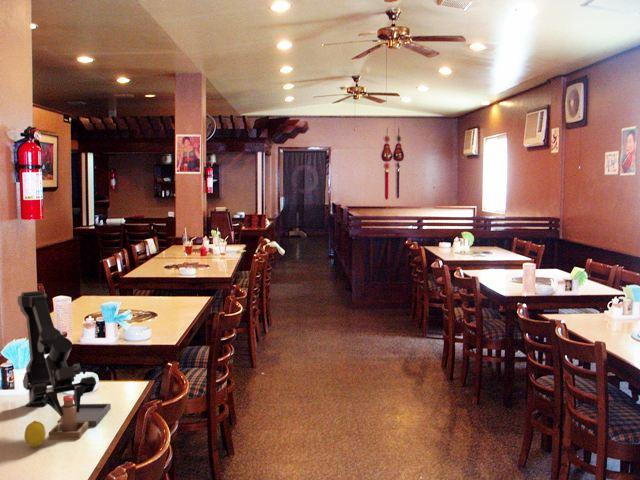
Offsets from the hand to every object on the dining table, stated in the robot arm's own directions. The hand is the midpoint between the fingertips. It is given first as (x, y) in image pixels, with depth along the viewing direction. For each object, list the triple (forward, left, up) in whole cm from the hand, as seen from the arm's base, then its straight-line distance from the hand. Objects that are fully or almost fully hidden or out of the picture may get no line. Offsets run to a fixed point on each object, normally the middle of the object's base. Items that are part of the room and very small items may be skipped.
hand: (70, 413), depth 190 cm
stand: (-1, -1, -7) cm, 7 cm away
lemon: (+9, -7, -7) cm, 13 cm away
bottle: (-1, -1, -7) cm, 7 cm away
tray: (-15, 0, -7) cm, 16 cm away
